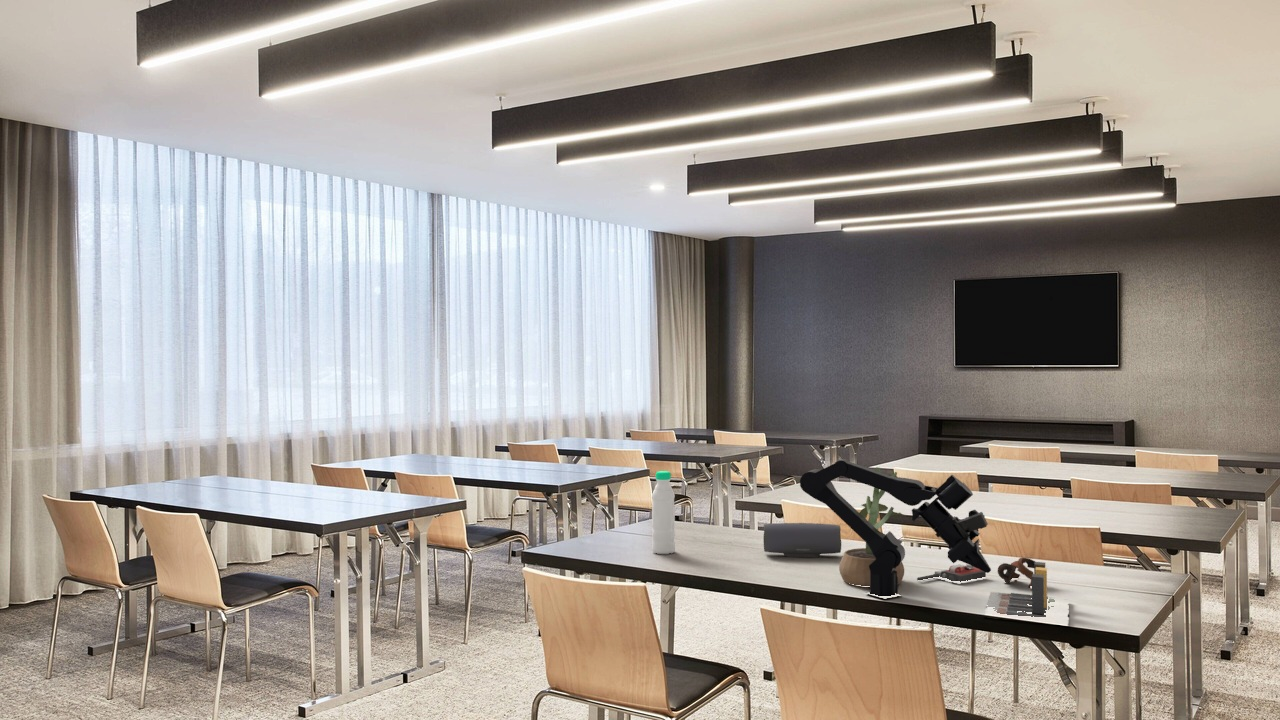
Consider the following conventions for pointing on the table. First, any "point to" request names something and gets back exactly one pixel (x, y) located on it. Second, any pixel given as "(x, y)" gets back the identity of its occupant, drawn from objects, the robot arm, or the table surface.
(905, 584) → the table surface
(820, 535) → the bluetooth speaker
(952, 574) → the walkie-talkie
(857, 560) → the potted plant
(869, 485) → the robot arm
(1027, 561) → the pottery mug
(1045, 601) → the tan wooden tall block
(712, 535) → the table surface
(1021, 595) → the grey ribbed panel
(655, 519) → the water bottle
